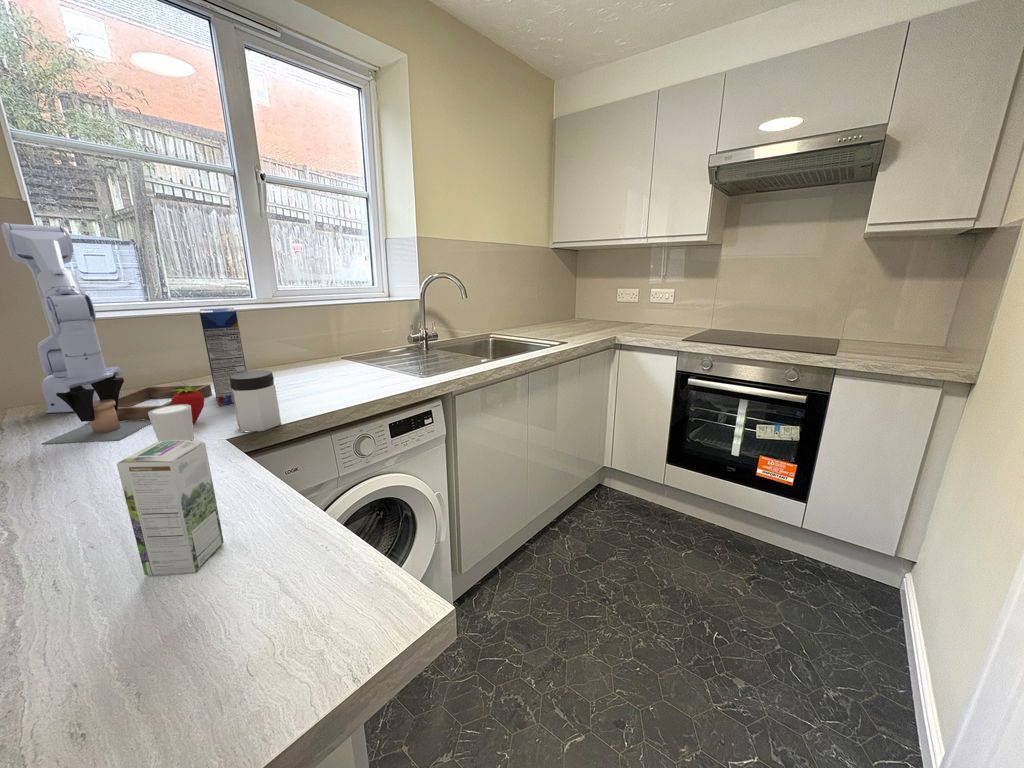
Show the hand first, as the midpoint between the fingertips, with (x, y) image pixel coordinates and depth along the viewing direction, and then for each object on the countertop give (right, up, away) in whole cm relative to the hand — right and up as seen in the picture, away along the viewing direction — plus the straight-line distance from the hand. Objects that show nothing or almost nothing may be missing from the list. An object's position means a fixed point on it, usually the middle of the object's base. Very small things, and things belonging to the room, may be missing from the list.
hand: (100, 415), depth 89 cm
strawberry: (+15, -2, +6) cm, 17 cm away
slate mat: (0, -3, +1) cm, 4 cm away
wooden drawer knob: (0, -3, +1) cm, 3 cm away
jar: (+32, -3, +4) cm, 32 cm away
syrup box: (+49, -15, -39) cm, 65 cm away
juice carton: (+13, +3, +24) cm, 27 cm away
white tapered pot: (+20, -5, -4) cm, 21 cm away
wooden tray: (-2, +1, +17) cm, 17 cm away
